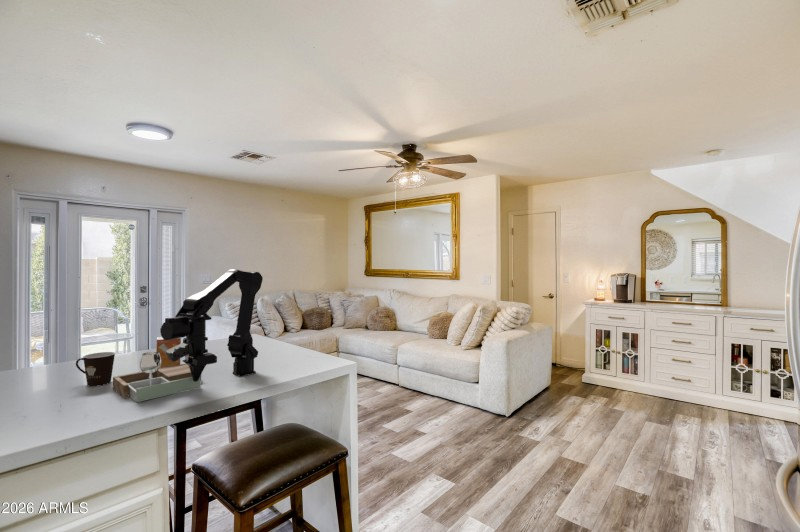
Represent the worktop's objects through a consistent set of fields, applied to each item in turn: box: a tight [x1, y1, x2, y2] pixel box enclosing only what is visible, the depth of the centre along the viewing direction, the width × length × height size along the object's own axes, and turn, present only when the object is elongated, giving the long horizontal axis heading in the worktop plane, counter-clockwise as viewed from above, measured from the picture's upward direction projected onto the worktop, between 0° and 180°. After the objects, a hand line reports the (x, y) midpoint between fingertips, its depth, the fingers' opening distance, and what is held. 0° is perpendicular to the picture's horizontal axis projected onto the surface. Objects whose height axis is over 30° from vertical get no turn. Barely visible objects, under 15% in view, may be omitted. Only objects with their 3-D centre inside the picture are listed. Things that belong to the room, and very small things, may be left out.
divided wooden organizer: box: [112, 363, 192, 399], centre depth 128 cm, size 13×23×4 cm, turn 140°
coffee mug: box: [75, 351, 116, 387], centre depth 130 cm, size 12×9×10 cm
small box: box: [155, 336, 182, 368], centre depth 146 cm, size 8×6×13 cm
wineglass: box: [139, 351, 161, 385], centre depth 120 cm, size 6×6×12 cm
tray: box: [127, 375, 202, 403], centre depth 123 cm, size 13×18×4 cm
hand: (195, 381), depth 123 cm, fingers closed
